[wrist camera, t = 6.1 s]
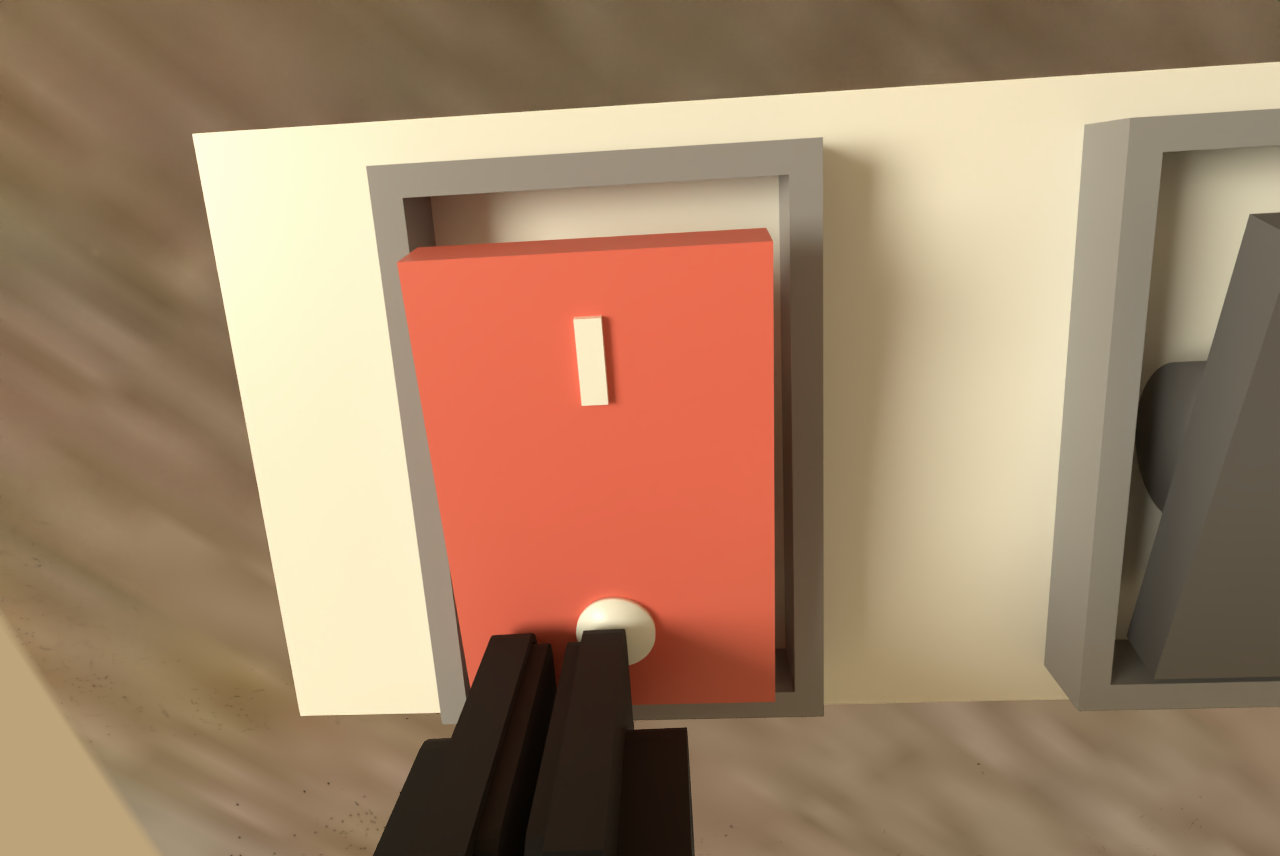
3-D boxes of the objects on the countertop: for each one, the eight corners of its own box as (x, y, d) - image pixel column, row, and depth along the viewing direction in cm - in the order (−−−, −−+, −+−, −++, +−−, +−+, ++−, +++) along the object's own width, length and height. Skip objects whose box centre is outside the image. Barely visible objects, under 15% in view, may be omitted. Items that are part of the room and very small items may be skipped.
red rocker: (757, 209, 11) (774, 243, 9) (761, 608, 13) (775, 707, 11) (445, 227, 11) (393, 263, 9) (503, 615, 14) (471, 713, 12)
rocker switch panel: (1496, 69, 14) (1931, 7, 9) (1399, 571, 17) (1704, 737, 12) (313, 146, 16) (138, 128, 11) (382, 602, 18) (266, 762, 13)
